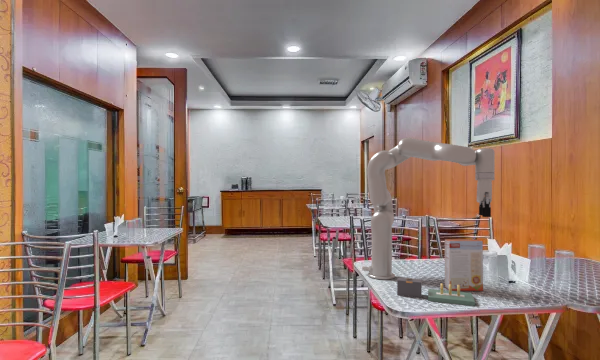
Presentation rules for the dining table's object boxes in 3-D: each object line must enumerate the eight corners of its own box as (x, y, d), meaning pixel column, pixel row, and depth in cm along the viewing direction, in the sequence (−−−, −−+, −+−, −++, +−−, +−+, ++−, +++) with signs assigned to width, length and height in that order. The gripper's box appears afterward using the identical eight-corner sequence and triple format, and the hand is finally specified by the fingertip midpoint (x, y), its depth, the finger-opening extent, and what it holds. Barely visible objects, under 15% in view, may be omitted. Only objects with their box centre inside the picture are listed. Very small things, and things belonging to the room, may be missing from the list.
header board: (428, 300, 137) (428, 286, 137) (428, 292, 148) (428, 278, 148) (475, 306, 132) (475, 290, 132) (471, 296, 143) (471, 282, 143)
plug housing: (397, 295, 144) (397, 280, 144) (398, 292, 148) (398, 277, 149) (421, 298, 141) (421, 282, 141) (421, 294, 145) (421, 279, 146)
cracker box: (476, 287, 157) (476, 238, 157) (483, 291, 151) (483, 240, 151) (443, 287, 157) (444, 238, 157) (449, 291, 151) (449, 240, 151)
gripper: (472, 177, 169) (472, 214, 168) (478, 176, 152) (477, 217, 152) (491, 177, 166) (490, 215, 166) (498, 176, 150) (498, 218, 150)
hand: (484, 216), depth 159 cm, fingers open, 9 cm apart
